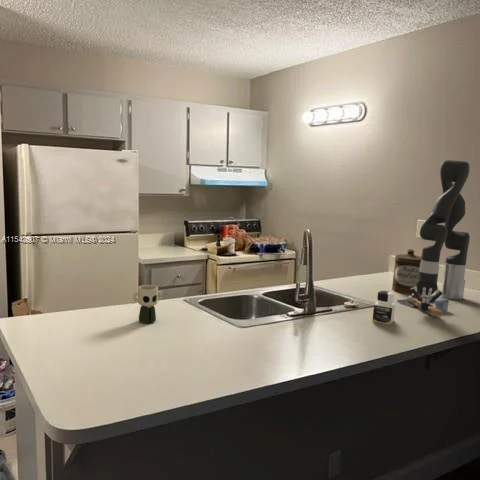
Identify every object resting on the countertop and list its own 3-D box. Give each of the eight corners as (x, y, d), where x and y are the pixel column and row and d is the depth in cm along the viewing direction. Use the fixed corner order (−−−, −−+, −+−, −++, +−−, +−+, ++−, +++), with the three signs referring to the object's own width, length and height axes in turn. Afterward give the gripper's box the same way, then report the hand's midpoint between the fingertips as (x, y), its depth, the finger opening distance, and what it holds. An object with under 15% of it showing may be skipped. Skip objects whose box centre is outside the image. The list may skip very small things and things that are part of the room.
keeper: (440, 308, 212) (441, 297, 211) (447, 311, 208) (448, 299, 208) (419, 310, 207) (421, 298, 207) (426, 312, 204) (427, 301, 203)
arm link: (405, 299, 219) (406, 295, 219) (416, 300, 220) (416, 296, 220) (431, 315, 195) (431, 310, 195) (442, 315, 196) (443, 311, 195)
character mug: (135, 326, 166) (136, 290, 164) (129, 320, 172) (130, 285, 171) (164, 322, 172) (165, 288, 170) (158, 317, 178) (159, 283, 176)
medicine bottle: (372, 321, 187) (374, 292, 186) (375, 317, 193) (378, 288, 192) (390, 324, 184) (393, 295, 182) (393, 320, 190) (396, 291, 189)
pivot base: (413, 300, 224) (414, 290, 223) (429, 306, 215) (430, 296, 214) (397, 301, 220) (398, 291, 219) (412, 307, 211) (413, 297, 210)
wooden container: (392, 292, 239) (396, 249, 236) (391, 286, 253) (395, 246, 250) (423, 296, 234) (427, 252, 231) (420, 289, 249) (425, 248, 246)
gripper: (413, 271, 195) (408, 311, 197) (447, 274, 192) (442, 315, 194) (411, 268, 202) (406, 307, 204) (443, 271, 199) (438, 310, 201)
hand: (423, 311), depth 199 cm, fingers closed
